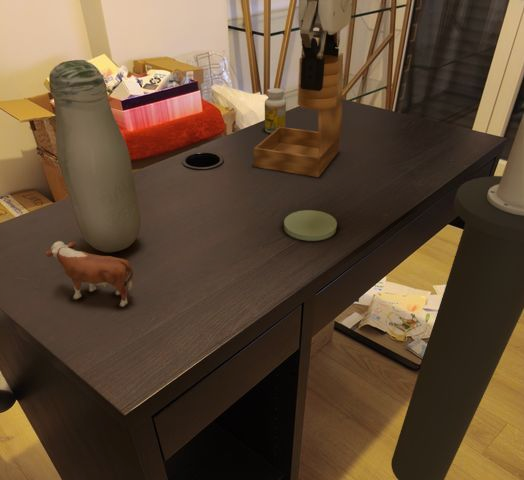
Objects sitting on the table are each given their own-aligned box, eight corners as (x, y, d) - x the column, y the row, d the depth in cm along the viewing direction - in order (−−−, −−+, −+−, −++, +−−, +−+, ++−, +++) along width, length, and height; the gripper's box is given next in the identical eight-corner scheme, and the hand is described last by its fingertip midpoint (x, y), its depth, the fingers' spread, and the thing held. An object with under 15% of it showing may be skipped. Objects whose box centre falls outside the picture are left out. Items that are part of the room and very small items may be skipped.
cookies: (341, 100, 74) (345, 56, 70) (329, 111, 70) (333, 65, 66) (305, 96, 76) (307, 52, 72) (291, 107, 72) (293, 61, 68)
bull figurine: (69, 279, 75) (53, 233, 70) (144, 295, 72) (134, 248, 67) (51, 295, 72) (33, 248, 67) (129, 312, 69) (117, 264, 64)
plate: (342, 220, 89) (343, 215, 88) (327, 245, 83) (327, 240, 82) (294, 211, 92) (294, 206, 91) (275, 234, 85) (276, 229, 85)
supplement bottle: (289, 131, 124) (290, 90, 118) (273, 135, 122) (273, 94, 115) (276, 125, 127) (277, 85, 121) (260, 130, 125) (260, 89, 118)
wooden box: (254, 166, 107) (253, 148, 105) (278, 143, 118) (279, 126, 115) (318, 177, 103) (319, 158, 100) (338, 152, 113) (340, 134, 110)
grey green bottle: (117, 268, 78) (68, 75, 59) (73, 250, 82) (14, 64, 63) (157, 241, 84) (125, 58, 65) (115, 226, 88) (73, 50, 69)
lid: (317, 70, 90) (320, 70, 89) (340, 53, 100) (343, 53, 100) (318, 156, 100) (321, 156, 100) (339, 133, 110) (341, 133, 110)
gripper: (339, -77, 52) (325, 102, 64) (376, -80, 64) (358, 72, 76) (275, -77, 54) (273, 96, 66) (322, -81, 66) (313, 68, 78)
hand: (318, 82), depth 71 cm, fingers closed on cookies, 6 cm apart
